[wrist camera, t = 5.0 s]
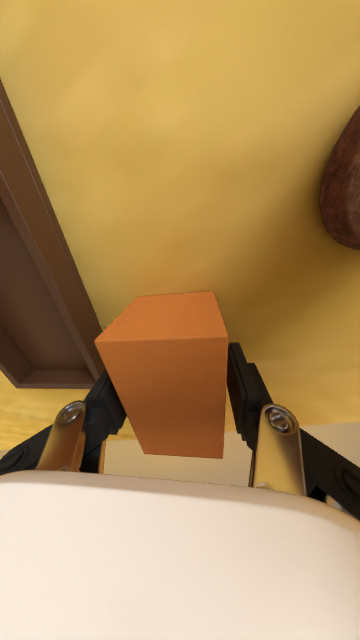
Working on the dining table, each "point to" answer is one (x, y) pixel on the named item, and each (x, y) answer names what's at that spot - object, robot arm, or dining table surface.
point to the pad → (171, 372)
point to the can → (343, 187)
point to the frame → (39, 280)
